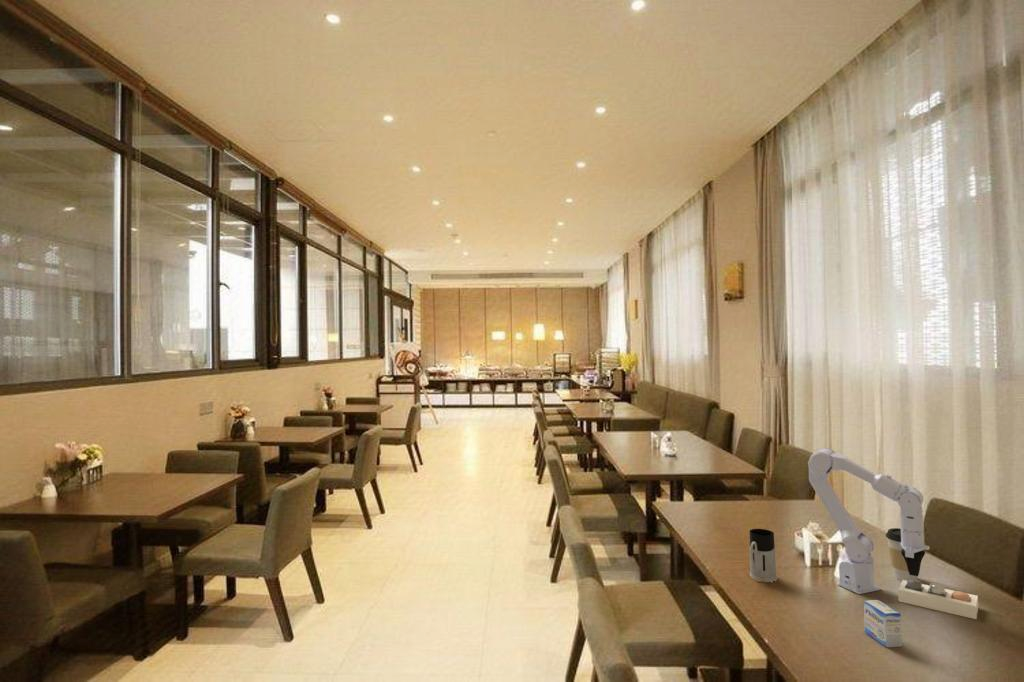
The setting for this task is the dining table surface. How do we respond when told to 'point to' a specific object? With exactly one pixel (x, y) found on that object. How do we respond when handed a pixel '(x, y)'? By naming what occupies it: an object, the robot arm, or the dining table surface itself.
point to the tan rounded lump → (961, 596)
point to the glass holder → (762, 555)
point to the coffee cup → (897, 555)
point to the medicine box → (882, 623)
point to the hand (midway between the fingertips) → (914, 575)
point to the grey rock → (937, 589)
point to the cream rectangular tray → (939, 601)
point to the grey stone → (914, 584)
